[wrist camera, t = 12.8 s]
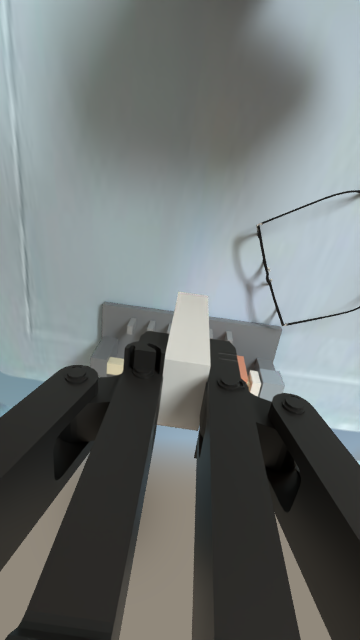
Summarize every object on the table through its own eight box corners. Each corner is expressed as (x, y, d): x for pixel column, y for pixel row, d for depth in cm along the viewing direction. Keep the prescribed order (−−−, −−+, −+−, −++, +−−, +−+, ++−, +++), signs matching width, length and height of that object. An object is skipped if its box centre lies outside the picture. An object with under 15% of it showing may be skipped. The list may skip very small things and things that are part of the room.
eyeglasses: (248, 219, 46) (252, 223, 42) (366, 178, 43) (381, 178, 39) (274, 321, 52) (280, 332, 48) (380, 291, 49) (394, 301, 45)
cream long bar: (100, 368, 51) (93, 381, 48) (100, 345, 49) (93, 358, 46) (272, 393, 51) (277, 408, 48) (279, 371, 49) (284, 385, 46)
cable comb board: (102, 375, 58) (87, 404, 51) (104, 301, 52) (88, 322, 45) (260, 398, 58) (268, 430, 50) (280, 326, 52) (293, 351, 45)
